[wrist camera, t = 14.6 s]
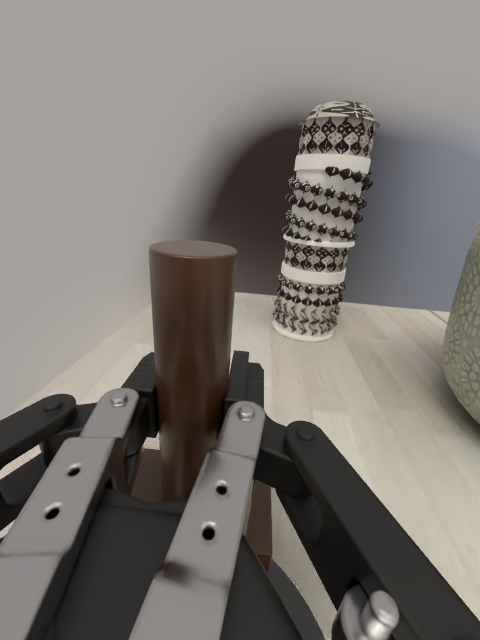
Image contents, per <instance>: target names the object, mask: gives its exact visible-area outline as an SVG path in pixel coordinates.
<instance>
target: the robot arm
mask: <svg viewBox="0 0 480 640" xmlns="http://www.w3.org/2000/svg"><path fill="white" fill-rule="evenodd" d="M248 359H249V352H245V351H235V350H234V354H233V359H232V364H231V369H230V375H229V381H228V388H227V390H226V396H225V405H224V421H223V425H222V428H221V431H220V433H219V436H218V439H217V441H216V444H215V446H214V448H210V449H209V450H208V452H207V455H206V457H205V460H204V462H203V465H202V467H201V470H200V472H199V475H198V477H197V480H196V482H195V485H194V488H193V490H192V493H191V495H190V498H189V499H188V498H181V499H174V500H166V501H158V502H145V501H143V500H141V499H138V498H136V497H134V496H131V492H132V489H133V486H134V482H135V479H136V475H137V472H138V468H139V465H140V461H141V458H142V455H143V444H144V442H145V439H146V437H151V438H156V436H157V434H158V431H159V423H158V406H157V388H156V370H155V353H154V352H151V353H150V354H148V355H146V356H145V357H143V358H142V360H141V361H140V362H139V364H138V366H136V368H135V369H134V371H133V372H132V373H131V375H130V376H129V377H128V379H127V380H126V381H125V383H124V384H123V386H122V387H121V388H118V389H114V390H111V391H109V392H107V393H106V394H104V395H103V396H102V397H101V398H100V400H99V402H98V403H91V404H82V405H76V400H75V398H74V397H73V396H71V395H68V394H56V395H52V396H48V397H46V398H44V399H42V400H40V401H38V402H36V403H34V404H32V405H30V406H28V407H26V408H24V409H22V410H20V411H18V412H16V413H14V414H12V415H10V416H9V417H7V418H5V419H3V420H1V421H0V470H1V469H2V468H3V467H4V466H5V465H7V464H8V463H10V462H11V461H13V460H14V459H16V458H18V457H19V456H21V455H22V454H24V453H26V452H27V451H29V450H30V449H32V448H33V447H35V446H37V445H38V444H39V446H40V449H41V453H40V454H39V455H37V456H36V457H34V458H33V459H31V460H30V461H28V462H27V463H25V464H23V465H22V466H20V467H19V468H17V469H16V470H14V471H13V472H11V473H10V474H8V475H7V476H5V477H4V478H2V479H1V480H0V531H1V530H2V529H3V528H5V527H6V526H7V525H9V524H10V523H11V522H12V521H14V520H15V519H16V520H15V522H14V523H13V525H12V526H11V528H10V530H9V531H8V533H7V535H6V536H4V537H3V538H1V539H0V640H304V638H303V636H302V634H301V633H300V631H299V629H298V627H297V626H296V624H295V622H294V620H293V618H292V617H291V615H290V613H289V611H288V610H287V608H286V606H285V604H284V602H283V601H282V599H281V597H280V595H279V594H278V592H277V590H276V588H275V587H274V585H273V583H272V581H271V579H270V578H269V576H268V574H267V572H266V571H265V569H264V567H263V565H262V563H261V562H260V560H259V558H258V556H257V555H256V553H255V551H254V549H253V547H252V546H251V544H250V542H249V541H248V539H247V538H246V533H247V527H248V521H249V515H250V510H251V504H252V499H253V494H254V488H255V483H256V480H258V481H260V482H262V483H264V484H267V485H269V486H271V487H273V488H275V489H276V493H277V495H278V497H279V499H280V501H281V503H282V505H283V507H284V509H285V511H286V513H287V515H288V517H289V519H290V521H291V523H292V525H293V527H294V529H295V531H296V532H297V534H298V536H299V538H300V540H301V542H302V544H303V546H304V548H305V550H306V552H307V554H308V556H309V558H310V560H311V562H312V564H313V566H314V568H315V569H316V571H317V573H318V575H319V577H320V579H321V581H322V583H323V585H324V587H325V589H326V591H327V593H328V595H329V597H330V599H331V601H332V603H333V604H334V606H335V608H336V610H337V614H336V616H335V619H334V621H333V625H332V640H480V621H479V620H478V619H477V617H476V616H475V615H474V614H473V613H472V611H471V610H470V609H469V608H468V607H467V605H466V604H465V603H464V602H463V600H462V599H461V598H460V597H459V596H458V594H457V593H456V592H455V591H454V590H453V588H452V587H451V586H450V585H449V584H448V582H447V581H446V580H445V579H444V577H443V576H442V575H441V574H440V573H439V571H438V570H437V569H436V568H435V567H434V565H433V564H432V563H431V562H430V561H429V559H428V558H427V557H426V556H425V554H424V553H423V552H422V551H421V550H420V548H419V547H418V546H417V545H416V544H415V542H414V541H413V540H412V539H411V538H410V536H409V535H408V534H407V533H406V532H405V530H404V529H403V528H402V527H401V525H400V524H399V523H398V522H397V521H396V519H395V518H394V517H393V516H392V515H391V513H390V512H389V511H388V510H387V509H386V507H385V506H384V505H383V504H382V502H381V501H380V500H379V499H378V498H377V496H376V495H375V494H374V493H373V492H372V490H371V489H370V488H369V487H368V486H367V484H366V483H365V482H364V481H363V480H362V478H361V477H360V476H359V475H358V473H357V472H356V471H355V470H354V469H353V467H352V466H351V465H350V464H349V463H348V461H347V460H346V459H345V458H344V457H343V455H342V454H341V453H340V452H339V450H338V449H337V448H336V447H335V446H334V444H333V443H332V442H331V441H330V440H329V438H328V437H327V436H326V435H325V434H324V432H323V431H322V430H321V429H320V428H319V427H318V426H316V425H314V424H312V423H310V422H306V421H295V422H292V423H290V424H289V425H288V426H287V427H286V426H283V425H281V424H278V423H276V422H274V421H273V420H271V419H270V418H269V417H268V416H267V415H266V413H265V411H264V370H263V368H262V367H261V365H260V364H259V363H250V362H248Z"/></svg>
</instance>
